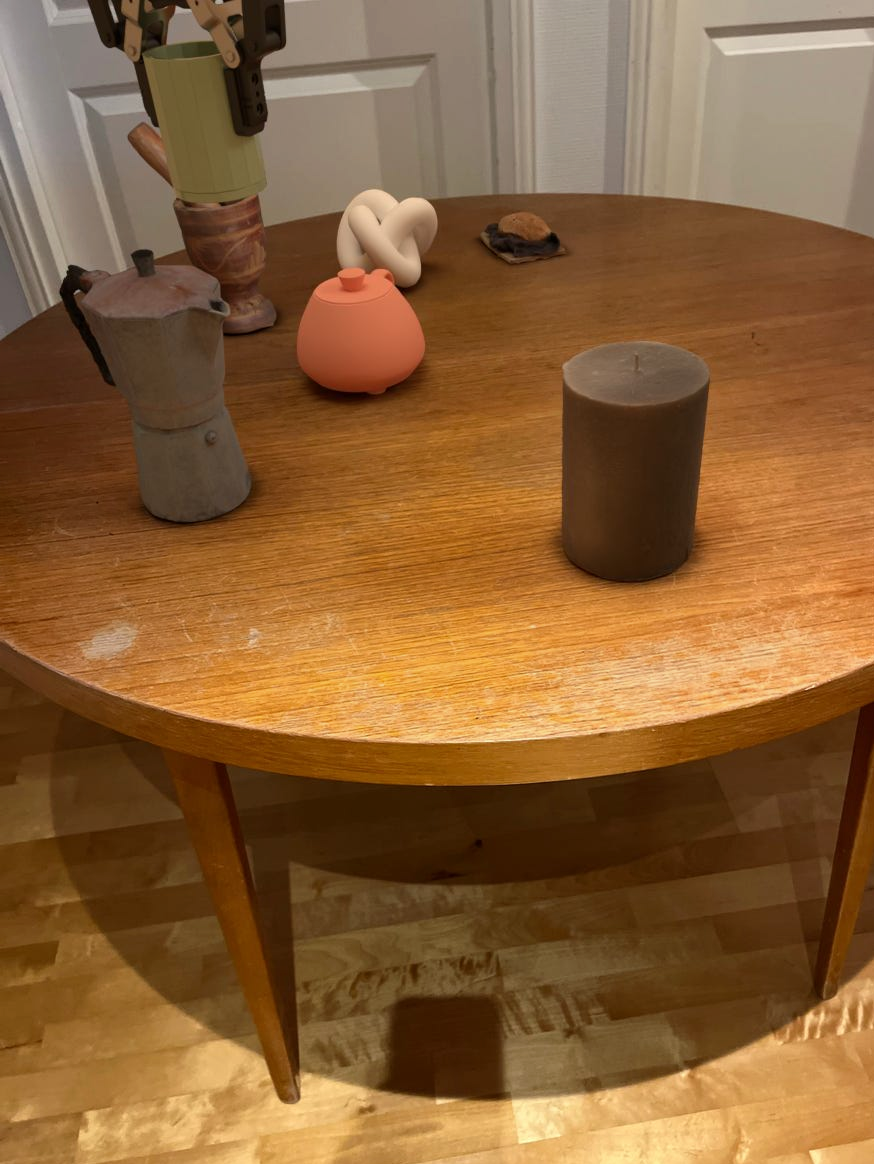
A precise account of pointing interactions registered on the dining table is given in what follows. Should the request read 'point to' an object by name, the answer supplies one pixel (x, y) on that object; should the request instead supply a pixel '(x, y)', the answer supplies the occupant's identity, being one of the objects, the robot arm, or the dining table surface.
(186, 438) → the moka pot
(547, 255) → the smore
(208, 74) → the cup
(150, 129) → the mortar and pestle
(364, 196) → the cream knot sculpture
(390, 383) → the sugar bowl
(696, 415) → the pillar candle
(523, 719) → the dining table surface
